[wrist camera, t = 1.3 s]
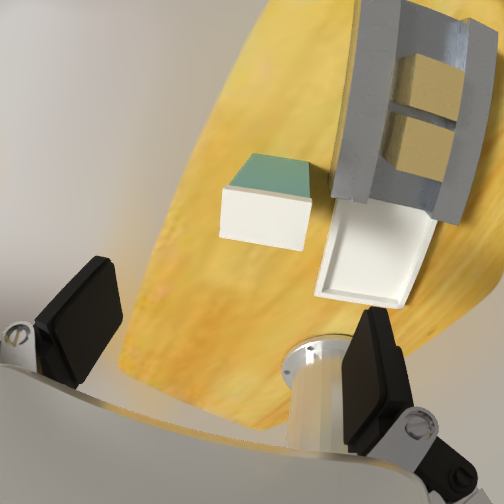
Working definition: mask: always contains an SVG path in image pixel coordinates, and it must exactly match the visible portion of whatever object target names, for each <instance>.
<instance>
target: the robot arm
mask: <svg viewBox="0 0 504 504" xmlns="http://www.w3.org/2000/svg"><path fill="white" fill-rule="evenodd" d="M122 319H123V314H122V309H121V303H120V297H119V292H118V286H117V280H116V274H115V267H114V264H113V263H111V260H110V259H109V258H106V257H101V256H95V257H93V258H92V259H91V260H90V261H89V262H88V263H87V264H86V265H85V266H84V267H83V268H82V269H81V270H80V272H78V274H77V275H75V276H74V278H72V280H71V281H70V282H69V283H68V284H67V285H66V286H65V287H64V288H63V289H62V290H61V291H60V292H59V293H58V294H57V295H56V296H55V298H54V299H53V300H52V301H51V302H50V303H49V304H48V305H47V307H46V308H45V309H44V310H43V311H42V312H41V313H40V314H39V315H38V316H37V318H36V319H35V324H34V325H33V326H32V325H31V324H30V323H28V322H25V321H18V322H15V323H12V324H11V325H9V326H8V327H7V328H6V329H5V330H4V332H3V333H2V337H1V341H0V504H492V503H491V501H490V500H489V498H488V496H487V495H486V493H485V492H484V490H483V489H482V488H481V489H478V488H477V486H476V485H477V480H478V476H477V472H476V469H475V467H474V466H473V465H472V464H471V463H470V462H469V461H467V460H466V459H465V458H464V457H462V456H461V455H460V454H459V453H457V452H456V451H455V450H454V449H452V448H451V447H450V446H449V445H448V444H446V443H445V442H444V441H443V440H441V439H440V438H439V437H438V436H437V434H438V428H439V426H438V422H437V420H436V418H435V416H434V415H433V414H432V413H431V412H430V411H428V410H426V409H425V408H421V407H414V404H413V398H412V393H411V388H410V384H409V379H408V374H407V370H406V365H405V361H404V357H403V353H402V350H401V348H400V347H399V346H396V344H395V340H394V335H393V331H392V327H391V324H390V320H389V316H388V312H387V309H386V308H380V307H373V306H371V307H370V308H369V310H364V312H363V314H362V316H361V319H360V321H359V323H358V326H357V328H356V331H355V333H354V335H353V337H350V336H345V335H323V336H317V337H313V338H310V339H307V340H305V341H303V342H301V343H299V344H297V345H296V346H294V347H293V348H292V349H291V350H290V351H289V352H288V353H287V354H286V356H285V358H284V360H283V364H282V371H281V373H282V377H283V380H284V382H285V383H286V385H287V386H288V387H289V388H290V389H292V393H291V402H290V411H289V420H288V429H287V437H286V445H285V447H278V446H271V445H265V444H259V443H253V442H248V441H242V440H237V439H232V438H227V437H223V436H218V435H214V434H209V433H205V432H201V431H197V430H193V429H189V428H185V427H181V426H178V425H174V424H171V423H167V422H163V421H160V420H157V419H153V418H150V417H147V416H144V415H141V414H138V413H135V412H132V411H129V410H126V409H123V408H121V407H118V406H115V405H112V404H110V403H107V402H104V401H101V400H99V399H97V398H94V397H91V396H89V395H87V394H84V393H82V392H79V391H77V390H76V388H77V387H78V385H79V384H82V383H83V382H84V381H85V379H86V378H87V376H88V374H89V373H90V371H91V370H92V368H93V366H94V365H95V363H96V362H97V360H98V358H99V357H100V355H101V354H102V352H103V350H104V349H105V347H106V346H107V344H108V343H109V341H110V340H111V338H112V337H113V335H114V334H115V332H116V331H117V329H118V328H119V326H120V325H121V323H122ZM65 385H66V386H65Z"/></svg>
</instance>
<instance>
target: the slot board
mask: <svg viewBox="0 0 504 504" xmlns="http://www.w3.org/2000/svg"><path fill="white" fill-rule="evenodd" d="M497 46H498V32H497V31H495V30H493V29H491V28H489V27H487V26H486V25H484V24H482V23H480V22H478V21H476V20H474V19H472V18H467V19H464V20H461V21H459V20H456V19H454V18H452V17H449V16H447V15H444V14H442V13H440V12H437V11H434V10H432V9H429V8H427V7H424V6H421V5H418V4H415V3H412V2H409V1H406V0H355V6H354V15H353V24H352V33H351V41H350V49H349V57H348V64H347V72H346V79H345V86H344V92H343V99H342V105H341V111H340V117H339V123H338V129H337V135H336V141H335V147H334V152H333V157H332V163H331V168H330V173H329V179H328V186H329V191H330V196H331V197H333V198H339V199H344V200H349V201H354V202H359V203H364V204H367V201H368V197H370V198H375V199H379V200H384V201H388V202H393V203H397V204H401V205H405V206H410V207H414V208H418V209H422V210H424V211H425V212H426V213H427V214H428V216H429V217H430V218H431V219H434V220H438V221H442V222H446V223H450V224H453V225H457V226H459V223H460V221H461V218H462V215H463V212H464V209H465V206H466V203H467V200H468V196H469V193H470V190H471V187H472V183H473V180H474V176H475V173H476V169H477V165H478V161H479V157H480V153H481V149H482V145H483V141H484V136H485V131H486V127H487V122H488V116H489V111H490V105H491V99H492V92H493V85H494V78H495V69H496V59H497ZM416 53H418V54H421V55H424V56H426V57H429V58H432V59H435V60H437V61H440V62H443V63H445V64H448V65H450V66H453V67H455V68H457V69H460V70H462V71H465V77H464V84H463V91H462V97H461V103H460V108H459V114H458V119H457V122H456V121H453V120H449V119H446V118H442V117H439V116H436V115H433V114H430V113H427V112H424V111H421V110H417V109H414V108H411V107H408V106H404V105H401V104H397V103H394V100H395V94H396V88H397V82H398V75H399V68H400V60H401V57H405V56H408V55H412V54H416ZM392 112H395V113H399V114H402V115H406V116H409V117H412V118H416V119H419V120H422V121H425V122H428V123H431V124H434V125H437V126H440V127H443V128H446V129H448V130H451V131H454V132H455V134H454V139H453V143H452V147H451V152H450V156H449V160H448V164H447V168H446V171H445V175H444V179H443V182H440V181H436V180H433V179H429V178H426V177H422V176H418V175H415V174H411V173H407V172H403V171H399V170H396V169H395V168H394V167H393V166H392V165H391V164H390V163H389V162H388V161H386V160H385V159H384V158H383V157H384V152H385V148H386V143H387V138H388V133H389V128H390V123H391V118H392Z"/></svg>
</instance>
